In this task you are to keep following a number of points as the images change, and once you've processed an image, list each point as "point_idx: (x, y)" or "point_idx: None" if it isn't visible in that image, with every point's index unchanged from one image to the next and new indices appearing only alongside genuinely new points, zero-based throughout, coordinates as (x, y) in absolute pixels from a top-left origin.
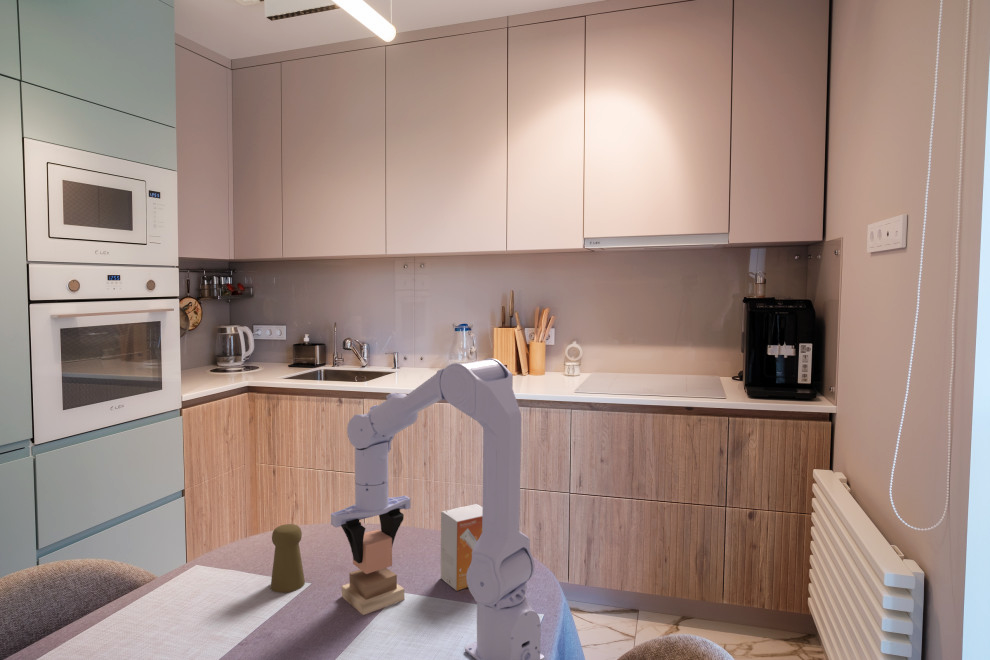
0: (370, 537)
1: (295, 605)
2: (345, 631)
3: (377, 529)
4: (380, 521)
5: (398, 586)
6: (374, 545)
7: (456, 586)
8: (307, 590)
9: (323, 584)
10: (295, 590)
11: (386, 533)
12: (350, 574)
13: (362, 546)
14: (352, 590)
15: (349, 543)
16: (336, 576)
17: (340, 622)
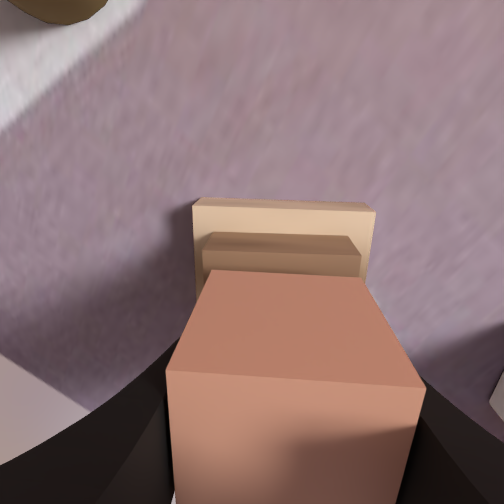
0: (270, 468)
1: (47, 146)
2: (135, 365)
3: (419, 388)
4: (478, 495)
5: None
6: None
7: (497, 413)
8: (111, 59)
9: (182, 52)
10: (69, 24)
11: (409, 490)
12: (203, 258)
13: (174, 488)
14: None
15: (128, 385)
16: (257, 14)
17: (139, 325)
